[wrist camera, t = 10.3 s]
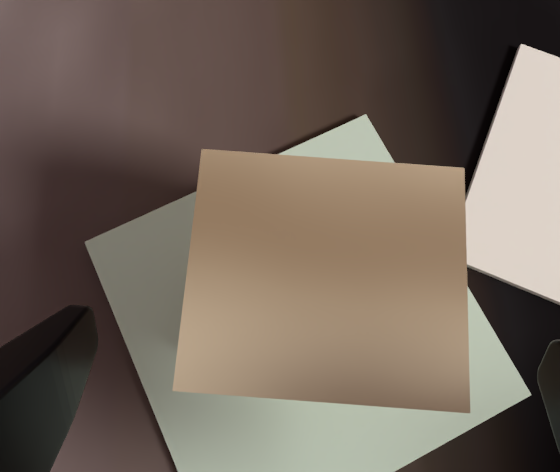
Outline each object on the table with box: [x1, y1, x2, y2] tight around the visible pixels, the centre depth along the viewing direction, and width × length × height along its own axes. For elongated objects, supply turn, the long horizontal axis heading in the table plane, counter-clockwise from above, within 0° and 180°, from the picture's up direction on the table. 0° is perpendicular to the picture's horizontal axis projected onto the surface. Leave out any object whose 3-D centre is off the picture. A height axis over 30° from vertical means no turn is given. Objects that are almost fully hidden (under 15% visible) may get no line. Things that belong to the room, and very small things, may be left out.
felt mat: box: [85, 115, 531, 472], centre depth 17 cm, size 12×12×1 cm
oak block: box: [172, 149, 470, 413], centre depth 13 cm, size 4×5×9 cm
